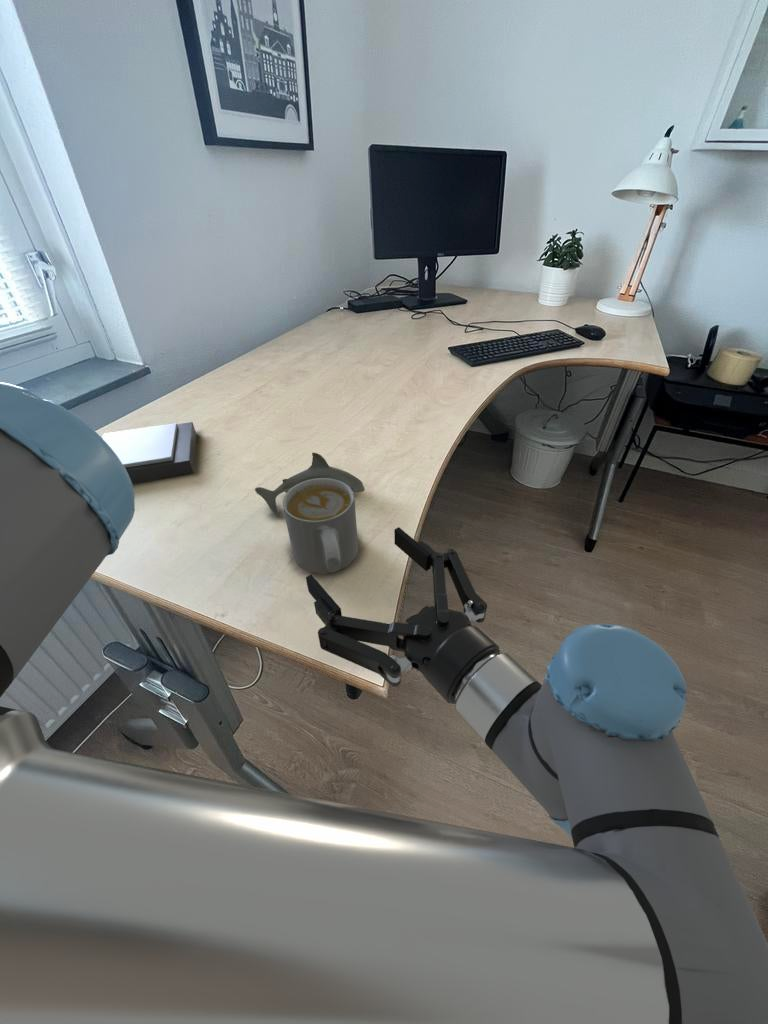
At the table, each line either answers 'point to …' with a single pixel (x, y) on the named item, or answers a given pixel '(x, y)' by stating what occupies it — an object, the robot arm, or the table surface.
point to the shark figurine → (313, 472)
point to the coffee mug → (321, 524)
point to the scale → (155, 451)
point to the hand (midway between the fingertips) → (355, 557)
